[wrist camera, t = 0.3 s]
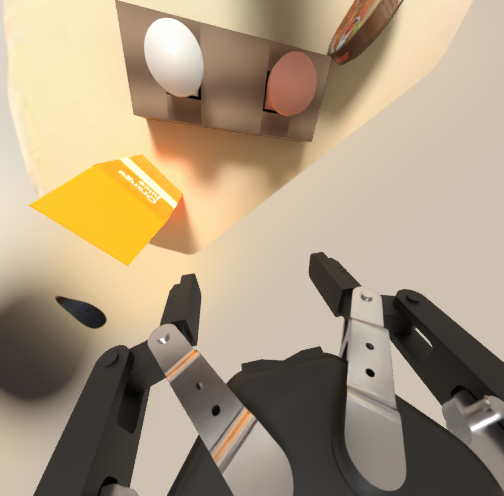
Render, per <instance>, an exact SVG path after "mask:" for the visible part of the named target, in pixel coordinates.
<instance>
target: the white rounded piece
mask: <svg viewBox="0 0 504 496" xmlns="http://www.w3.org/2000/svg"><path fill="white" fill-rule="evenodd" d="M144 53H145V58H146V62H147V65H148V68H149V70H150V72H151V74H152V75H153V77H154V78H155V80H156V81H157V82H158V83H159V84H160V85H161V86H162V87H163V88H164V89H165V90H166V91H167V92H169V93H170V94H172V95H174V96H177V97H189V96H194V97H199V95H198V89H199V88H200V86H201V84H202V81H203V76H204V64H203V58H202V53H201V50H200V47H199V44H198V42H197V40H196V38H195V37H194V35H193V34H192V32H191V31H190V30H189V29H188V28H187V27H186V26H185V25H184V24H182V23H181V22H179V21H177V20H175V19H172V18H161V19H158V20H156V21H155V22H153V23H152V25H151V26H150V27H149V29H148V31H147V33H146V36H145V41H144Z"/></svg>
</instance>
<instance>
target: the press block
mask: <svg viewBox="0 0 504 496" xmlns="http://www.w3.org/2000/svg"><path fill="white" fill-rule="evenodd" d="M115 1H116V8H117V14H118V20H119V26H120V32H121V39H122V45H123V51H124V57H125V63H126V69H127V76H128V82H129V88H130V94H131V100H132V107H133V113H134V115H137V116H140V117H143V118H148V119H154V120H161V121H168V122H174V123H181V124H188V125H194V126H201V127H208V128H214V129H221V130H227V131H234V132H241V133H247V134H254V135H261V136H267V137H274V138H281V139H287V140H294V141H305V142H312V138H313V134H314V130H315V126H316V122H317V118H318V113H319V109H320V105H321V101H322V97H323V93H324V89H325V85H326V81H327V77H328V72H329V68H330V64H331V60H332V57H330V56H326V55H322V54H319V53H315V52H311V51H307V50H304V49H300V48H296V47H292V46H288V45H285V44H281V43H277V42H273V41H269V40H266V39H262V38H258V37H254V36H250V35H247V34H243V33H239V32H235V31H232V30H228V29H224V28H220V27H216V26H213V25H209V24H205V23H201V22H197V21H194V20H190V19H186V18H182V17H179V16H175V15H171V14H167V13H163V12H160V11H156V10H152V9H148V8H144V7H141V6H137V5H133V4H129V3H126V2H122V1H118V0H115ZM161 18H172V19H175V20H177V21H179V22H181V23H182V24H184V25H185V26H186V27H187V28H188V29H189V30H190V31H191V32H192V34H193V35H194V37H195V38H196V40H197V42H198V44H199V47H200V50H201V53H202V58H203V64H204V76H203V81H202V84H201V100H197V99H191V98H186V97H177V96H174V95H172V94H170V93H169V92H167V91H166V90H165V89H164V88H163V87H162V86H161V85H160V84H159V83H158V82H157V81H156V80H155V78H154V77H153V75H152V74H151V72H150V70H149V68H148V65H147V62H146V58H145V53H144V41H145V36H146V33H147V31H148V29H149V27H150V26H151V25H152V23H153V22H155V21H156V20H158V19H161ZM293 51H298V52H302V53H304V54H306V55H307V56H308V57H309V58H310V59H311V61H312V62H313V65H314V67H315V70H316V76H317V84H316V90H315V94H314V97H313V99H312V101H311V102H310V104H309V105H308V107H307V108H306V109H305V110H303V111H302V112H300V113H298V114H295V115H292V116H283V115H281V114H275V113H269V112H264V111H263V103H264V94H265V86H266V82H267V81H268V77H269V75H270V73H271V71H272V69H273V67H274V66H275V65H276V63H277V62H278V61H279V60H280V59H281V57H283V56H284V55H285V54H287V53H289V52H293Z"/></svg>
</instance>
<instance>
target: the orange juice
mask: <svg viewBox="0 0 504 496" xmlns="http://www.w3.org/2000/svg"><path fill="white" fill-rule="evenodd" d="M181 196H182V193H181V192H180V191H179V190H178V189H177V188H176V187H175V186H174V185H173V184H172V183H171V182H170V181H169V180H168V179H167V178H166V177H165V176H164V175H163V174H162V173H160V172H159V171H158V170H157V169H156V168H155V167H154V166H153V165H152V164H151V163H150V162H149V161H148V160H147V159H146V158H145V157H144V156H143V155H138V156H133V157H126V158H121V159H119V160H114V161H110V162H105V163H100V164H96V165H93V166H92V167H91V168H89V169H88V170H86V171H84V172H83V173H81V174H80V175H78V176H76V177H75V178H73V179H71V180H70V181H68V182H66V183H65V184H63V185H62V186H60V187H58V188H57V189H55V190H53V191H52V192H50V193H48V194H47V195H45V196H43V197H42V198H40V199H39V200H37V201H35V202H34V203H32V204H30V205H29V206H31V207H32V208H34V209H35V210H37V211H39V212H40V213H42V214H44V215H45V216H47V217H48V218H50V219H52V220H53V221H55V222H57V223H58V224H60V225H62V226H63V227H65V228H67V229H68V230H70V231H72V232H73V233H75V234H76V235H78V236H79V237H81V238H83V239H84V240H86V241H88V242H89V243H91V244H93V245H94V246H96V247H98V248H99V249H101V250H102V251H104V252H106V253H107V254H109V255H110V256H112V257H114V258H115V259H117V260H119V261H121V262H122V263H124V264H126V265H127V266H128V265H129V264H130V263H131V262H132V260H133V259H134V258H135V257H136V256H137V255H138V254H139V252H140V251H141V250H142V249H143V248H144V247H145V245H146V244H147V243H148V242H149V241H150V240H151V239H152V237H153V236H154V235H155V234H156V233H157V232H158V230H159V229H160V228H161V227H162V226H163V225H164V224H165V223H166V222H167V220H168V218H169V216H170V215H171V213H172V211H173V210H174V209H175V207H176V205H177V204H178V201H179V199H180V198H181Z"/></svg>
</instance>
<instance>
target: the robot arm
mask: <svg viewBox="0 0 504 496" xmlns="http://www.w3.org/2000/svg"><path fill="white" fill-rule="evenodd" d="M309 276H310V279H311V280H312V282H313V283H314V285H315V287H316V288H317V290H318V291H319V293H320V294H321V296H322V297H323V299H324V300H325V302H326V303H327V305H328V306H329V308H330V309H331V311H332V312H333V314H334V315H335V317H339V316H343V317H344V324H343V332H342V341H341V348H340V353H339V356H336V355H333V354H329V353H323V351H322V349H321V347H315V348H311V349H306V350H302V351H300V352H298V353H296V354H295V355H293V356H291V357H289V358H287V359H286V360H283V361H279V360H263V359H261V360H257V361H252V362H248V363H243V364H242V371H240V372H238V373H237V374H236V375H234V376H233V377H232V378H231V379H230V380H229V381H228V382H227V383H226V384H225V383H224V381H223V380H222V379H221V378H220V377H219V376H218V374H217V373H216V372H215V371H214V369H213V368H212V367H211V366H210V364H209V363H208V362H207V361H206V360H205V358H204V357H203V356H202V355H201V354H200V352H199V351H197V350H195V349H194V348H193V347H192V346H196V345H197V341H198V329H199V318H200V305H201V292H200V288H199V285H198V282H197V279H196V276H195V274H188V275H183V276H182V277H181V282H180V284H176V285H174V286H173V288H172V289H171V290H170V292H169V296H168V299H167V302H166V306H165V310H164V313H163V316H162V319H161V323H160V326H159V327H158V328H157V329H155V330H154V331H153V332H152V333H151V335H150V336H149V339H148V340H147V341H145V342H143V343H141V344H139V345H137V346H134V347H132V348H130V349H128V348H127V347H126V346H124V345H119V346H115V347H113V348H111V349H109V350H108V351H106V352H105V353H104V354H103V355H102V356H101V357H100V358H99V359H98V360H97V362H96V363H95V365H94V368H93V370H92V372H91V374H90V376H89V378H88V380H87V382H86V385H85V387H84V389H83V391H82V393H81V395H80V397H79V399H78V402H77V404H76V406H75V408H74V410H73V412H72V414H71V416H70V419H69V421H68V423H67V425H66V427H65V429H64V431H63V433H62V436H61V438H60V440H59V442H58V444H57V446H56V449H55V451H54V453H53V455H52V457H51V459H50V461H49V463H48V465H47V467H46V470H45V472H44V474H43V476H42V478H41V480H40V483H39V485H38V487H37V489H36V491H35V493H34V495H33V496H138V494H137V492H136V491H135V490H134V489H131V488H130V483H131V478H132V473H133V469H134V464H135V459H136V454H137V449H138V444H139V440H140V434H141V430H142V425H143V420H144V415H145V411H146V406H147V401H148V396H149V391H150V387H151V386H152V385H154V384H156V383H157V382H159V381H161V380H163V379H164V378H166V379H167V380H168V382H169V384H170V386H171V387H172V389H173V391H174V392H175V394H176V396H177V398H178V399H179V401H180V403H181V404H182V406H183V408H184V409H185V411H186V413H187V415H188V416H189V418H190V419H191V421H192V423H193V425H194V426H195V428H196V430H197V431H198V433H199V435H198V437H197V439H196V441H195V443H194V445H193V447H192V448H191V450H190V452H189V454H188V456H187V458H186V460H185V462H184V464H183V466H182V468H181V469H180V472H179V473H178V475H177V477H176V479H175V481H174V483H173V485H172V487H171V489H170V491H169V493H168V494H167V496H504V362H503V361H501V360H500V359H499V358H498V357H497V356H495V355H494V354H493V353H492V352H491V351H489V350H488V349H487V348H486V347H484V346H483V345H482V344H481V343H480V342H479V341H477V340H476V339H475V338H474V337H473V336H471V335H470V334H469V333H468V332H467V331H465V330H464V329H463V328H462V327H461V326H459V325H458V324H457V323H456V322H455V321H453V320H452V319H451V318H450V317H449V316H447V315H446V314H445V313H444V312H443V311H441V310H440V309H439V308H438V307H436V306H435V305H434V304H433V303H432V302H431V301H429V300H428V299H427V298H426V297H424V296H423V295H422V294H420V293H418V292H415V291H412V290H407V289H403V290H399V291H398V292H397V294H396V296H387V295H379V293H377V292H376V291H375V290H373V289H371V288H368V287H362V286H361V285H360V284H359V283H358V282H357V281H356V280H355V279H354V278H353V277H352V276H351V275H350V273H348V272H347V270H346V269H345V268H343V266H341V264H340V263H339V262H338V261H336V260H334V259H332V258H328V257H327V256H326V255H325V254H324V253H323V252H319V253H313V254H311V256H310V265H309ZM416 328H417V329H418V330H419V331H420V332H421V333H422V334H423V335H424V336H425V337H426V338H427V339H428V340H429V341H430V343H431V345H432V347H431V346H430V345H429V344H428V343H427V342H426V341H425V340H424V338H423V337H422V336H421V335H420V334H419V333H418V332H417V331H416V330H415V329H416ZM390 340H391V341H392V343H393V344H394V345H395V346H396V348H397V349H398V350H399V351H400V353H401V354H402V355H403V357H404V358H405V359H406V360H407V362H408V363H409V364H410V366H411V367H412V368H413V369H414V371H415V372H416V373H417V374H418V376H419V377H420V378H421V380H422V381H423V382H424V384H426V386H427V387H428V389H429V390H430V391H431V392H432V394H433V395H434V396H435V397H436V399H437V400H438V401H439V403H440V404H441V405H442V413H443V416H444V418H445V420H446V427H447V429H448V430H449V431H448V430H447V429H445V428H444V427H442V426H441V425H440V424H438V423H437V422H435V421H434V420H432V419H431V418H429V417H428V416H426V415H425V414H424V413H422V412H421V411H419V410H418V409H416V408H415V407H413V406H412V405H411V404H409V403H408V402H406V401H405V400H403V399H402V398H400V397H399V396H397V395H396V394H395V391H394V380H393V369H392V359H391V349H390Z"/></svg>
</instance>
